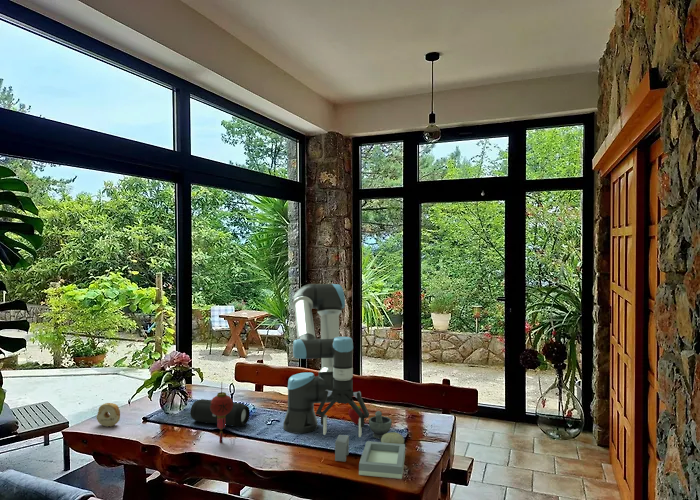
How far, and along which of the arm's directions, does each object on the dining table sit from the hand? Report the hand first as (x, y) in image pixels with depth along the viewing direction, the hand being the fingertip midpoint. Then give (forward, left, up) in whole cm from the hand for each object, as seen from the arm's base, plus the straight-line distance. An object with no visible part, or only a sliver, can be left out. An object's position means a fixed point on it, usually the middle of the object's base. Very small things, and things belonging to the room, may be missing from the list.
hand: (342, 434), depth 177 cm
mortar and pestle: (+12, +23, -9) cm, 28 cm away
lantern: (-51, +4, -9) cm, 52 cm away
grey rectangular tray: (+16, -3, -9) cm, 18 cm away
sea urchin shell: (+18, +15, -9) cm, 25 cm away
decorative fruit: (0, +35, -9) cm, 37 cm away
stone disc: (-108, +12, -9) cm, 109 cm away
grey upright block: (0, 0, -9) cm, 9 cm away
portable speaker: (-61, +25, -9) cm, 67 cm away
